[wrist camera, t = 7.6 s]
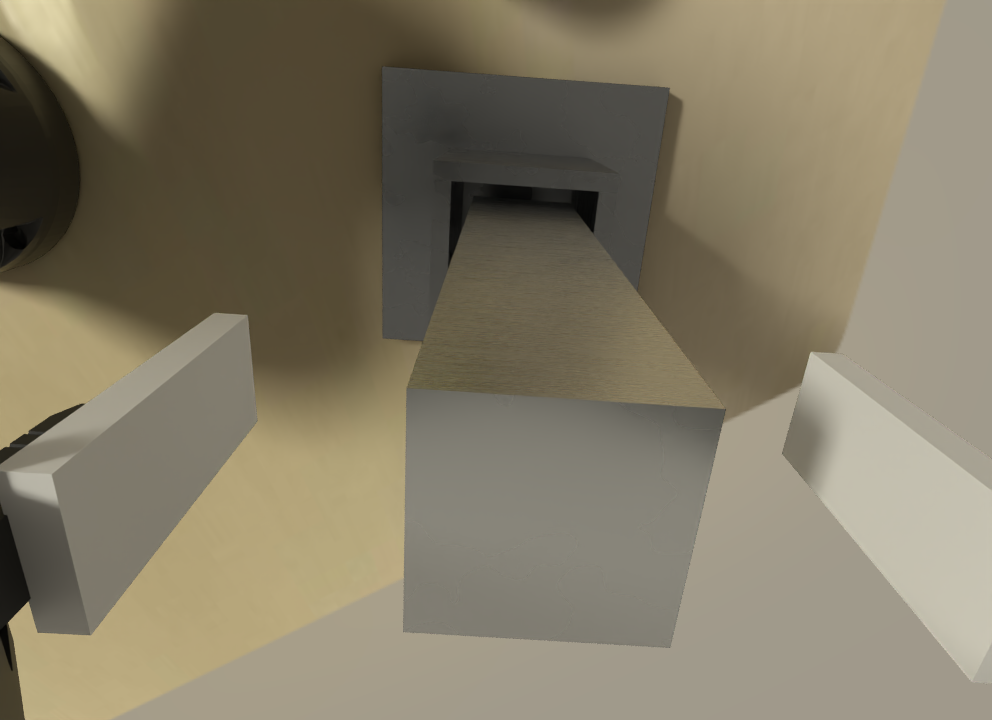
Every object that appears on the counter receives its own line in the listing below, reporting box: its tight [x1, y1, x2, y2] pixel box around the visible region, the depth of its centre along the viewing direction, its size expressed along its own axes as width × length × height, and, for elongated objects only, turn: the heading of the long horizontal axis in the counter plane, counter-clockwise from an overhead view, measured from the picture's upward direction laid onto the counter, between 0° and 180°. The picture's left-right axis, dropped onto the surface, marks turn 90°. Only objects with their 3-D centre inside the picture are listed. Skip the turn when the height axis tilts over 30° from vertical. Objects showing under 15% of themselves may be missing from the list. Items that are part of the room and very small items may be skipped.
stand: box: [382, 67, 670, 341], centre depth 33 cm, size 16×16×11 cm
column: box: [403, 196, 726, 648], centre depth 20 cm, size 5×5×22 cm
